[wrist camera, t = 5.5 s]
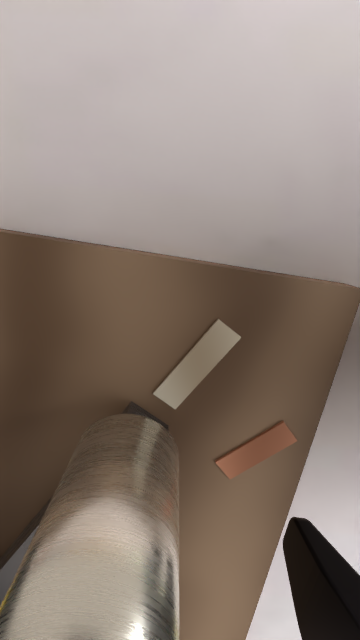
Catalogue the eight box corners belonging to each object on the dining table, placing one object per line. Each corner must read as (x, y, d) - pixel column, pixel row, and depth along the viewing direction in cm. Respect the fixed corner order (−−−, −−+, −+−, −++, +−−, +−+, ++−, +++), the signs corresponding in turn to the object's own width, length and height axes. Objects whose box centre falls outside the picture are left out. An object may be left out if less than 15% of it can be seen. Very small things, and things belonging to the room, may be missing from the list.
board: (343, 283, 10) (365, 289, 9) (226, 651, 16) (230, 686, 15) (-347, 173, 9) (-428, 164, 8) (-206, 612, 15) (-241, 645, 14)
